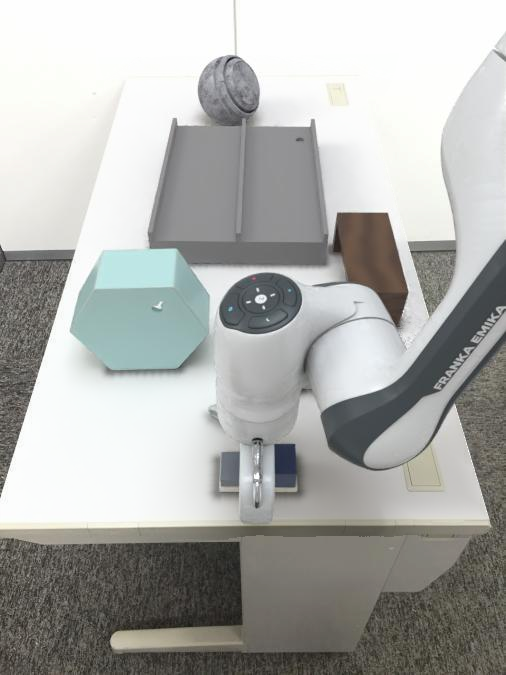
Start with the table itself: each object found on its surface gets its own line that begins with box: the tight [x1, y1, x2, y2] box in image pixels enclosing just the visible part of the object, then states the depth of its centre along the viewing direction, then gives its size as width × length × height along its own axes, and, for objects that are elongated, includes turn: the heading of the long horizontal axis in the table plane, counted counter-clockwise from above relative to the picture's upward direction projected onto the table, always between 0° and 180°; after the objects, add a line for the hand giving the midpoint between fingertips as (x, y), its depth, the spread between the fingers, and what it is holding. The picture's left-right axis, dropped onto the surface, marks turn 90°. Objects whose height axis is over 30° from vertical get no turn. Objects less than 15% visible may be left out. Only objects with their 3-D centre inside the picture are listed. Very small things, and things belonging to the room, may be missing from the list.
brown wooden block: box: [331, 211, 410, 328], centre depth 91 cm, size 9×20×8 cm, turn 0°
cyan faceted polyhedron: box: [69, 248, 211, 371], centre depth 77 cm, size 17×8×21 cm
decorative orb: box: [197, 54, 261, 126], centre depth 125 cm, size 15×14×15 cm
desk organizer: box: [147, 117, 330, 266], centre depth 107 cm, size 32×40×7 cm
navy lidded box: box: [218, 443, 298, 493], centre depth 68 cm, size 10×4×5 cm, turn 90°
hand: (255, 462), depth 68 cm, fingers open, 8 cm apart
